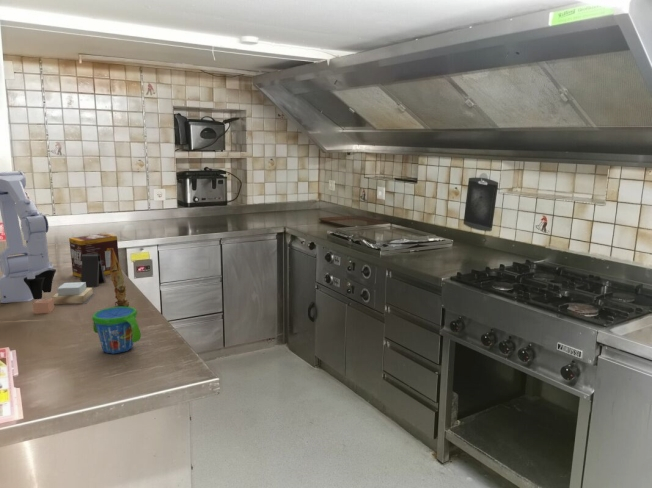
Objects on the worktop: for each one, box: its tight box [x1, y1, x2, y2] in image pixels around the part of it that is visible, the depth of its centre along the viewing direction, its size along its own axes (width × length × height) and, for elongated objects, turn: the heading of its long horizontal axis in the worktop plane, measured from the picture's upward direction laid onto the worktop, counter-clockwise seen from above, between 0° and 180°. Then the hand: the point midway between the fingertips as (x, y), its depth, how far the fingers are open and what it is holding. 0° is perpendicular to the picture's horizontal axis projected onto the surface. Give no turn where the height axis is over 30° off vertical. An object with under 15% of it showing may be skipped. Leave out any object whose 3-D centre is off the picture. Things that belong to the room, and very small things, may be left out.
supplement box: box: [68, 232, 120, 279], centre depth 216 cm, size 10×15×16 cm
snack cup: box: [91, 306, 142, 355], centre depth 137 cm, size 16×10×10 cm
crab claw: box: [109, 248, 130, 307], centre depth 172 cm, size 7×5×20 cm
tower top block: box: [57, 281, 87, 296], centre depth 179 cm, size 7×7×2 cm
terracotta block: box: [32, 298, 55, 314], centre depth 167 cm, size 4×4×4 cm
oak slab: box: [51, 287, 94, 305], centre depth 180 cm, size 10×10×2 cm
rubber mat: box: [54, 293, 97, 306], centre depth 180 cm, size 12×12×1 cm
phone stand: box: [80, 254, 107, 288], centre depth 198 cm, size 9×6×12 cm, turn 2°
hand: (42, 295), depth 166 cm, fingers open, 7 cm apart
